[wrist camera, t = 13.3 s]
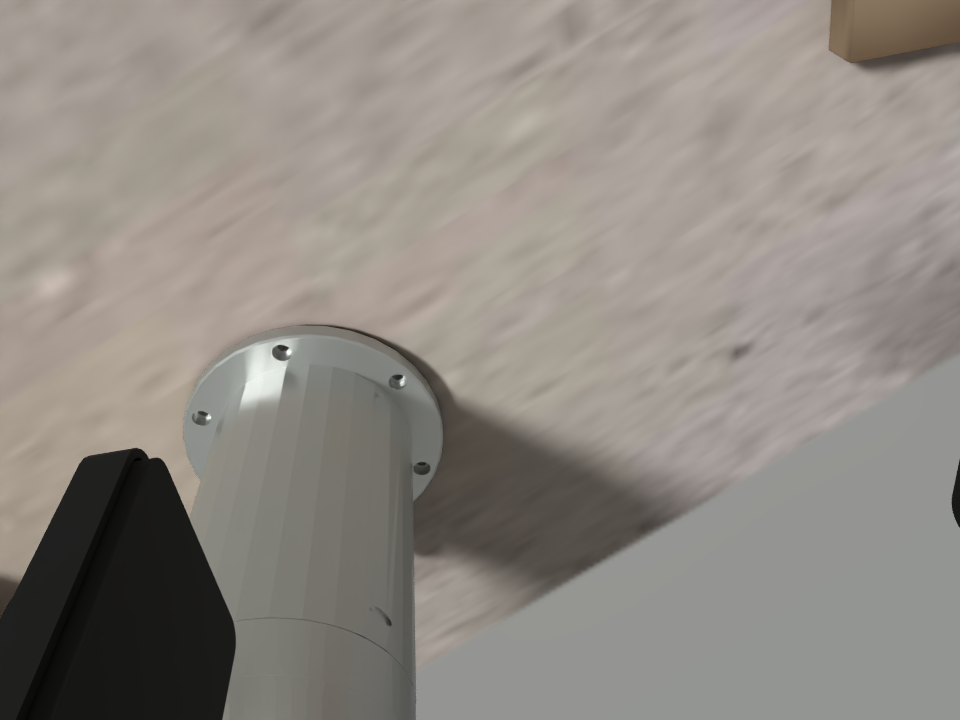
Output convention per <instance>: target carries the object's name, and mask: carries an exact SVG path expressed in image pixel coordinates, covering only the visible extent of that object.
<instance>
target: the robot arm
mask: <svg viewBox="0 0 960 720" xmlns="http://www.w3.org/2000/svg"><path fill="white" fill-rule="evenodd" d="M282 345H285V346H282ZM396 374H397V375H396ZM183 440H184V444H185V449H186V453H187V457H188V459H189V461H190V463H191V465H192V468H193V470H194V472H195V474H196V475H197V477H198V478H199V479H200V484H199V487H198V491H197V494H196V498H195V501H194V504H193V508H192V511H191V514H190V518H189V517H188V515H187V512H186V510H185V508H184V505H183V503H182V501H181V499H180V496H179V494H178V492H177V489H176V487H175V485H174V482H173V480H172V478H171V475H170V473H169V471H168V468H167V467H166V465H165V463H164V462H163V461H162V460H161V459H160V458H152V459H149V458H148V456H147V454H146V453H145V452H144V451H143V450H142V449H138V448H133V449H127V450H121V451H115V452H109V453H103V454H97V455H91V456H88V457H85V458H84V459H83V460H82V461H81V463H80V464H79V466H78V468H77V470H76V472H75V474H74V476H73V478H72V480H71V482H70V484H69V486H68V488H67V490H66V492H65V494H64V496H63V498H62V500H61V502H60V504H59V506H58V508H57V510H56V512H55V514H54V516H53V518H52V520H51V522H50V524H49V526H48V528H47V530H46V532H45V534H44V536H43V538H42V540H41V542H40V544H39V546H38V548H37V550H36V552H35V554H34V556H33V558H32V560H31V562H30V564H29V566H28V568H27V570H26V572H25V574H24V576H23V578H22V580H21V582H20V584H19V586H18V588H17V590H16V592H15V594H14V596H13V598H12V599H11V601H10V602H9V604H8V605H7V607H6V609H5V611H4V613H3V615H2V617H1V619H0V720H416V665H415V597H414V529H413V502H414V501H415V500H416V499H417V498H418V497H419V496H420V495H421V494H422V493H423V492H424V491H425V489H426V488H427V486H428V485H429V483H430V482H431V480H432V478H433V477H434V475H435V473H436V470H437V468H438V465H439V462H440V460H441V455H442V447H443V425H442V417H441V413H440V409H439V405H438V401H437V399H436V397H435V395H434V393H433V391H432V389H431V387H430V385H429V383H428V382H427V381H426V380H425V378H424V377H423V376H422V375H421V373H420V372H419V371H418V370H417V369H416V367H415V366H414V365H413V364H411V363H410V362H409V361H408V360H407V359H405V358H404V357H403V356H402V355H400V354H399V353H398V352H397V351H395V350H393V349H392V348H390V347H388V346H386V345H384V344H383V343H381V342H379V341H377V340H375V339H373V338H370V337H367V336H364V335H362V334H359V333H356V332H353V331H350V330H344V329H339V328H333V327H328V326H292V327H285V328H278V329H272V330H269V331H266V332H263V333H260V334H256V335H253V336H250V337H248V338H246V339H244V340H242V341H240V342H239V343H237V344H235V345H233V346H231V347H229V348H228V349H226V350H225V351H224V352H223V353H222V354H220V355H219V356H218V357H217V358H216V359H215V360H213V361H212V362H211V363H210V364H209V365H208V367H207V368H206V369H205V371H204V372H203V373H202V375H201V376H200V377H199V379H198V380H197V382H196V384H195V387H194V389H193V391H192V394H191V396H190V398H189V401H188V404H187V407H186V410H185V414H184V423H183ZM952 509H953V513H954V517H955V519H956V522H957V524H958V526H959V527H960V461H959V465H958V471H957V475H956V481H955V485H954V490H953V494H952Z"/></svg>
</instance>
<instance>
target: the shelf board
mask: <svg viewBox="0 0 960 720" xmlns="http://www.w3.org/2000/svg"><path fill="white" fill-rule="evenodd" d="M957 42H960V0H832V7H831V24H830V41H829V50H830V51H831V52H833V53H835V54H836V55H838V56H840V57H841V58H843V59H845V60H846V61H848V62H850V63H854V62H859V61H864V60H869V59H874V58H880V57H885V56H890V55H895V54H900V53H905V52H910V51H916V50H921V49H926V48H931V47H936V46H941V45H946V44H952V43H957Z"/></svg>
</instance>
